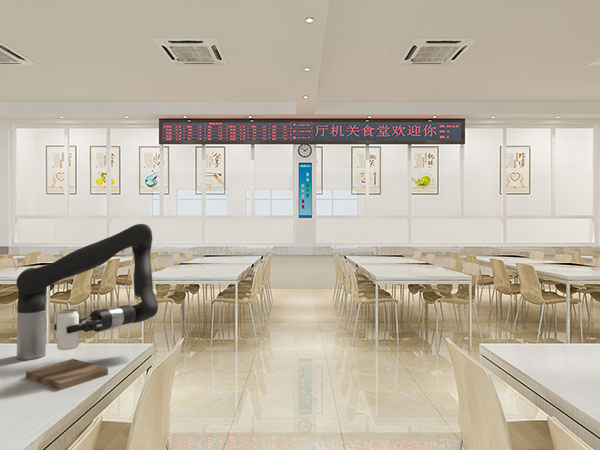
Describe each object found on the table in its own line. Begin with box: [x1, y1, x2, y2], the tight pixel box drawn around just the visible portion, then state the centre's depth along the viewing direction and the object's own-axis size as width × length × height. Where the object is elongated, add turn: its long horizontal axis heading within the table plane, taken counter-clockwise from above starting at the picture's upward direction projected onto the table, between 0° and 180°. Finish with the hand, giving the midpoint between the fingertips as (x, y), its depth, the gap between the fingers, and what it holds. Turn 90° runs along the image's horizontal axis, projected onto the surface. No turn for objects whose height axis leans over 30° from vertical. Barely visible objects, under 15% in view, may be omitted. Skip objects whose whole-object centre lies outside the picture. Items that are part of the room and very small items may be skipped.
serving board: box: [25, 358, 109, 391], centre depth 143 cm, size 20×16×2 cm
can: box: [56, 308, 80, 351], centre depth 143 cm, size 6×6×12 cm
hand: (61, 328), depth 141 cm, fingers closed on can, 6 cm apart
